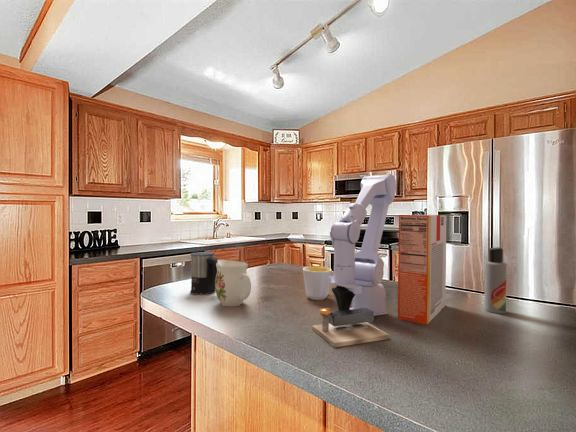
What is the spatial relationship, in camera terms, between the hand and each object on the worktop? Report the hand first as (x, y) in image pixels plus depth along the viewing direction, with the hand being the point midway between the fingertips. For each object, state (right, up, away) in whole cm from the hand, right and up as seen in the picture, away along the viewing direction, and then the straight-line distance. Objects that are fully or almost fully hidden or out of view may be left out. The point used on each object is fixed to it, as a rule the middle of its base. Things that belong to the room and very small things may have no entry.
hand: (343, 313), depth 90 cm
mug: (-4, -2, +27) cm, 27 cm away
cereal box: (+27, -3, +11) cm, 29 cm away
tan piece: (0, -3, -8) cm, 9 cm away
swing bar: (-1, 0, -7) cm, 7 cm away
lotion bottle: (+50, -3, +12) cm, 51 cm away
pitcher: (-34, -2, +17) cm, 38 cm away
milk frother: (-45, -2, +36) cm, 57 cm away
